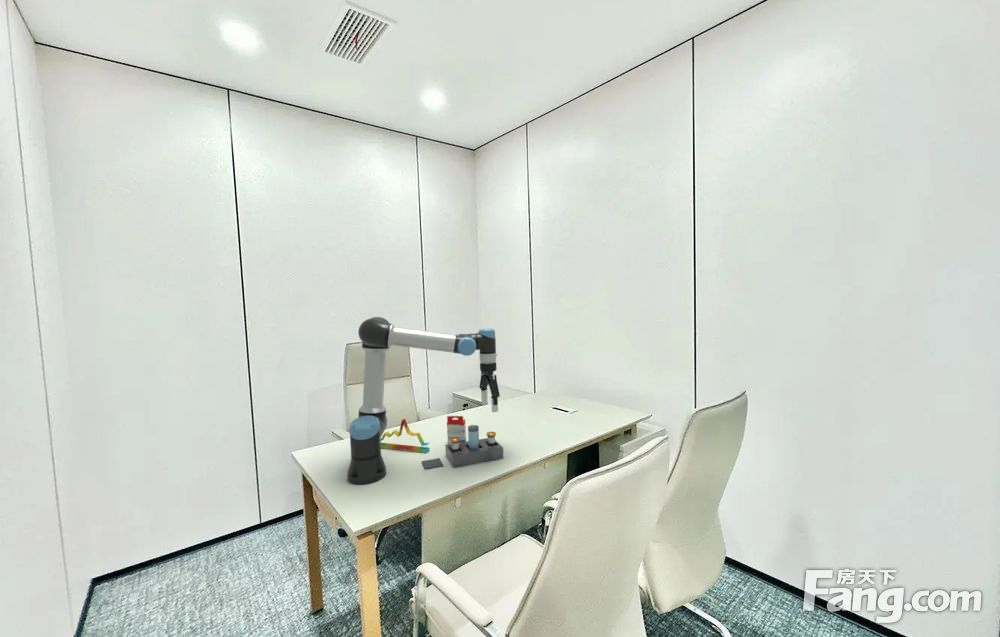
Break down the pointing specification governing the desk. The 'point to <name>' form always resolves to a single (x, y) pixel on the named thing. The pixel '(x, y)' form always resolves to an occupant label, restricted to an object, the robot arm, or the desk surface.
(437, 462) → the pad
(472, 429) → the cylinder
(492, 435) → the plunger far
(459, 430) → the ink box
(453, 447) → the plunger near
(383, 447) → the chart
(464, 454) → the housing
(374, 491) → the desk surface
